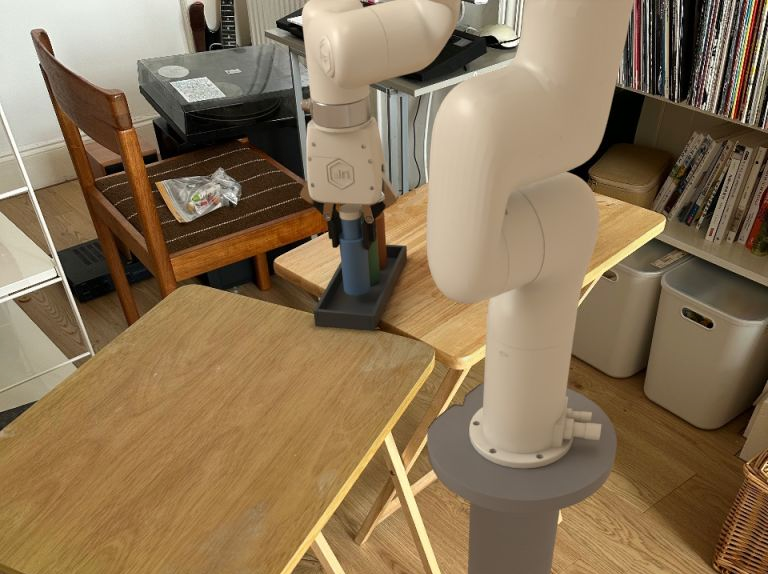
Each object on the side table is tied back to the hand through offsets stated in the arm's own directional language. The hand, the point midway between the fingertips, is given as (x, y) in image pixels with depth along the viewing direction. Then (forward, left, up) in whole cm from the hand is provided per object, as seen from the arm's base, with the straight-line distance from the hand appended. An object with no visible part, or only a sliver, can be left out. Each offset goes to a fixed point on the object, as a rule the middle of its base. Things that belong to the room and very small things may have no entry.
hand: (353, 243), depth 114 cm
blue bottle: (0, 0, -7) cm, 7 cm away
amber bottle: (0, -10, -9) cm, 14 cm away
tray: (0, -3, -9) cm, 10 cm away
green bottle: (0, -5, -9) cm, 10 cm away
